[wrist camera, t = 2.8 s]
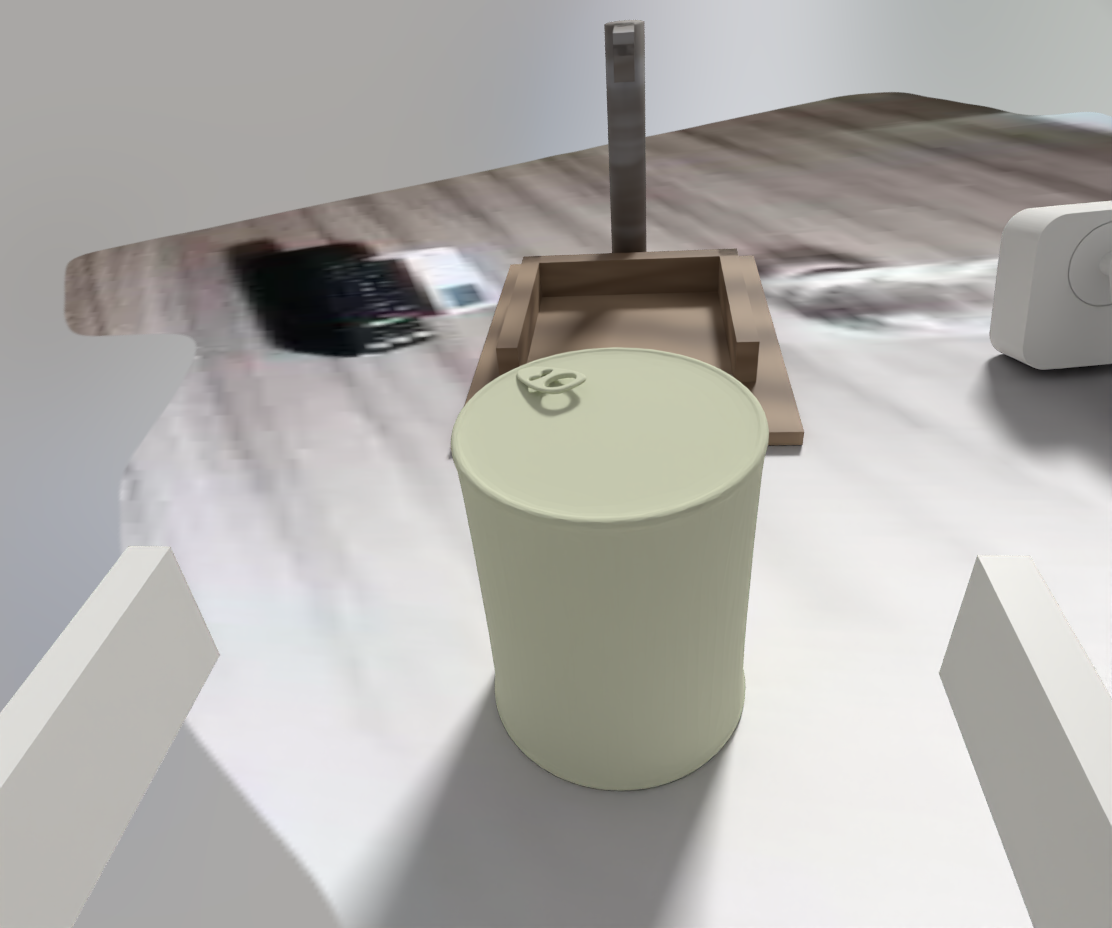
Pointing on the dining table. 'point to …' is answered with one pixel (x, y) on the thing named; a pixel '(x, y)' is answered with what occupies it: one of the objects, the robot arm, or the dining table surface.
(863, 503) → the dining table surface
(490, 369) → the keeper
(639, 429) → the can
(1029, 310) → the wall hook
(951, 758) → the dining table surface
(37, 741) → the robot arm
